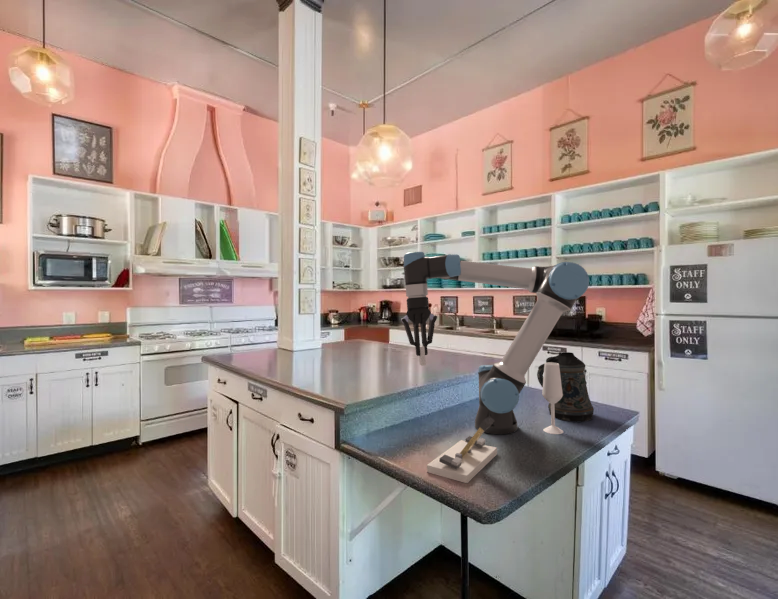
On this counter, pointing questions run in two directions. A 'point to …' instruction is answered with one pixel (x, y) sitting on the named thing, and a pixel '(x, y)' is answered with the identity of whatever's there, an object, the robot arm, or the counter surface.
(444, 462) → the block
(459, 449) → the switch panel
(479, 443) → the block
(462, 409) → the counter surface
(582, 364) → the beer stein
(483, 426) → the brass lever
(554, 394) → the champagne flute
